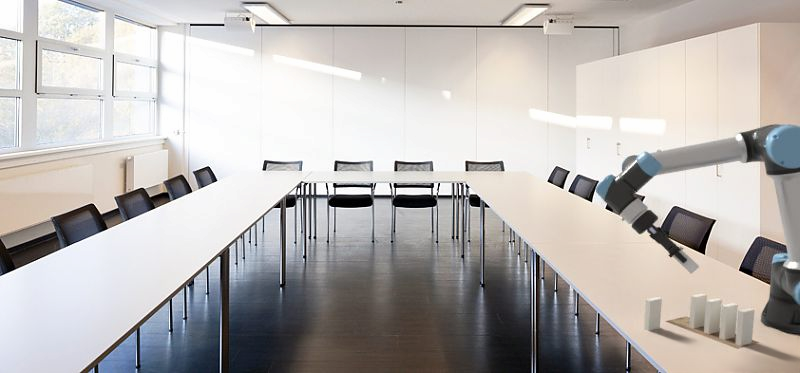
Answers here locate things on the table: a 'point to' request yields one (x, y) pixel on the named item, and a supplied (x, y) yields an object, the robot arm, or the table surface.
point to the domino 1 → (652, 313)
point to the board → (684, 323)
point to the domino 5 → (744, 326)
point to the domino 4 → (728, 321)
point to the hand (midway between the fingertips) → (695, 270)
